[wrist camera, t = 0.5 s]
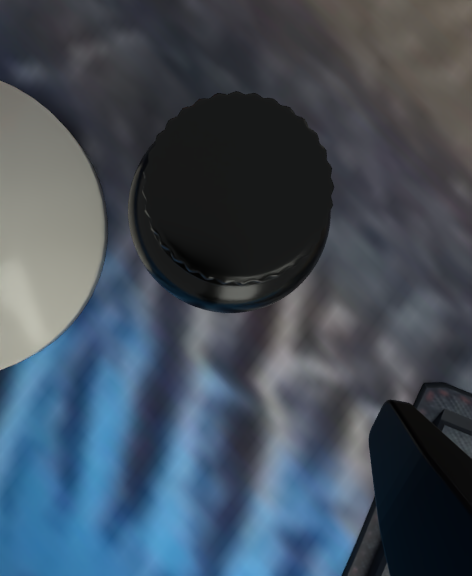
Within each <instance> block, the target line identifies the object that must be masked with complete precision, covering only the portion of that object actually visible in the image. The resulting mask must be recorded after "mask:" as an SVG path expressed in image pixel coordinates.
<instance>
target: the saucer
mask: <svg viewBox="0 0 472 576" xmlns="http://www.w3.org/2000/svg"><path fill="white" fill-rule="evenodd" d="M107 242H108V220H107V212H106V204H105V200H104V196H103V192H102V188H101V185H100V182H99V180H98V177H97V175H96V172H95V170H94V167H93V166H92V164H91V162H90V160H89V158H88V157H87V155H86V153H85V151H84V150H83V149H82V147H81V146H80V145H79V143H78V142H77V141H76V139H75V138H74V137H73V135H72V134H71V133H70V132H69V131H68V130H67V129H66V128H65V126H64V125H63V124H62V123H61V122H60V121H59V120H58V119H57V118H56V117H55V116H54V115H53V114H52V113H51V112H50V111H49V110H47V109H46V108H45V107H44V106H42V105H41V104H40V103H39V102H37V101H36V100H35V99H34V98H32V97H30V96H29V95H27V94H26V93H24V92H22V91H21V90H19V89H17V88H16V87H13V86H11V85H9V84H7V83H5V82H2V81H0V370H1V369H4V368H7V367H9V366H12V365H14V364H16V363H19V362H21V361H24V360H26V359H27V358H29V357H31V356H33V355H35V354H36V353H38V352H40V351H42V350H43V349H44V348H46V347H47V346H48V345H50V344H51V343H52V342H54V341H55V340H56V339H58V338H59V337H60V336H61V335H62V334H63V333H64V332H65V331H66V330H67V329H68V328H69V327H70V326H71V325H72V324H73V322H74V321H75V320H76V319H77V317H78V316H79V315H80V314H81V312H82V311H83V309H84V308H85V306H86V304H87V303H88V301H89V299H90V298H91V296H92V294H93V292H94V290H95V287H96V285H97V283H98V281H99V278H100V275H101V271H102V268H103V264H104V261H105V255H106V248H107Z"/></svg>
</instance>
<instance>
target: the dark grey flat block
mask: <svg viewBox="0 0 472 576" xmlns="http://www.w3.org/2000/svg"><path fill="white" fill-rule="evenodd" d="M413 406H414V407H415V408H416V409H417V410H418V411H419V412H421V413H422V414H423V415H424V416H425V417H426V418H427V419H428V420H429V421H431V422H432V423H433V424H434V425H435V426H436V427H437V428H438V429H439V430H441V431H442V432H443V433H444V434H445V435H446V436H447V437H448V438H449V439H451V440H452V441H453V442H454V443H455V444H456V445H457V446H458V447H459V448H461V449H462V450H463V451H464V452H465V453H466V454H467V455H468V456H469V457H471V458H472V394H470V393H468V392H465V391H463V390H460V389H458V388H455V387H453V386H450V385H448V384H445V383H424V384H423V386H422V388H421V390H420V392H419V395H418V397H417V399H416V401H415V403H414V405H413ZM342 576H390V574H389V569H388V565H387V560H386V556H385V552H384V547H383V543H382V538H381V533H380V528H379V522H378V515H377V508H376V500H375V498H374V501H373V503H372V506H371V508H370V511H369V513H368V516H367V518H366V521H365V523H364V526H363V528H362V530H361V533H360V535H359V538H358V540H357V543H356V545H355V547H354V550H353V552H352V554H351V557H350V559H349V561H348V563H347V566H346V568H345V570H344V572H343V575H342Z"/></svg>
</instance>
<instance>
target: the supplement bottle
mask: <svg viewBox="0 0 472 576" xmlns="http://www.w3.org/2000/svg"><path fill="white" fill-rule="evenodd" d="M331 172H332V168H331V166H330V164H329V163H328V161H327V153H326V149H325V148H324V147H323V146H322V145H321V144H320V143H319V138H318V135H317V133H316V132H314V131H313V130H311V129H310V128H309V127H308V125H307V122H306V121H305V119H303V118H301V117H299V116H296V115H295V113H294V112H293V110H292V109H291V108H290V107H287V106H282V105H280V104H278V102H277V101H276V100H274V99H272V98H262V97H261V96H260V95H258V94H256V93H251V94H246V95H245V94H242V93H241V92H237V91H236V92H233V93H230V94H228V95H226V94H221V93H217V94H215V95H214V96H212V97H211V98H209V99H205V98H204V99H199V100H198V101H197V102H196V103H195V104H194V105H193V106H190V107H185V108H183V109H182V110H181V111H180V113H179V115H178V116H177V117H175V118H172V119H170V120H169V121H168V123H167V125H166V128H165V130H164V131H162V132H161V133H159V134H158V135H157V137H156V140H155V142H154V143H153V144H152V145H151V146H150V147H149V149H148V150H147V152H146V153H145V155H144V156H143V158H142V160H141V162H140V163H139V165H138V168H137V170H136V172H135V175H134V178H133V181H132V184H131V189H130V194H129V202H128V218H129V227H130V232H131V236H132V239H133V243H134V246H135V248H136V250H137V253H138V255H139V257H140V259H141V261H142V263H143V264H144V266H145V267H146V269H147V270H148V272H149V273H150V274H151V275H152V276H153V278H154V279H155V280H156V281H157V282H158V283H159V284H160V285H161V286H162V287H163V288H164V289H166V290H167V291H168V292H169V293H171V294H172V295H174V296H175V297H177V298H178V299H180V300H182V301H184V302H186V303H188V304H190V305H192V306H195V307H198V308H201V309H204V310H208V311H213V312H221V313H240V312H247V311H253V310H257V309H260V308H263V307H266V306H268V305H271V304H273V303H275V302H277V301H279V300H281V299H282V298H284V297H285V296H287V295H288V294H290V293H291V292H292V291H293V290H295V289H296V288H297V287H298V286H299V285H300V284H301V283H302V282H303V281H304V280H305V279H306V278H307V277H308V275H309V274H310V273H311V271H312V270H313V268H314V267H315V265H316V264H317V262H318V260H319V258H320V256H321V254H322V252H323V249H324V247H325V244H326V240H327V237H328V232H329V227H330V214H331V208H332V206H333V203H332V199H331V194H332V192H333V189H334V185H333V182H332V180H331V178H330V177H331Z"/></svg>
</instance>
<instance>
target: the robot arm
mask: <svg viewBox="0 0 472 576" xmlns="http://www.w3.org/2000/svg"><path fill="white" fill-rule="evenodd" d="M369 449H370V458H371V466H372V475H373V483H374V491H375V500H376V508H377V515H378V522H379V528H380V533H381V538H382V543H383V547H384V552H385V556H386V560H387V565H388V569H389V574H390V576H472V458H471V457H469V456H468V455H467V454H466V453H465V452H464V451H463V450H462V449H461V448H459V447H458V446H457V445H456V444H455V443H454V442H453V441H452V440H451V439H449V438H448V437H447V436H446V435H445V434H444V433H443V432H442V431H441V430H439V429H438V428H437V427H436V426H435V425H434V424H433V423H432V422H431V421H429V420H428V419H427V418H426V417H425V416H424V415H423V414H422V413H421V412H419V411H418V410H417V409H416V408H415V407H414V406H413V405H412V404H410V403H407V402H402V401H396V400H387V401H386V402H385V403H384V404H383V406H382V408H381V410H380V412H379V414H378V416H377V418H376V420H375V422H374V424H373V426H372V428H371V430H370V434H369Z"/></svg>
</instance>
